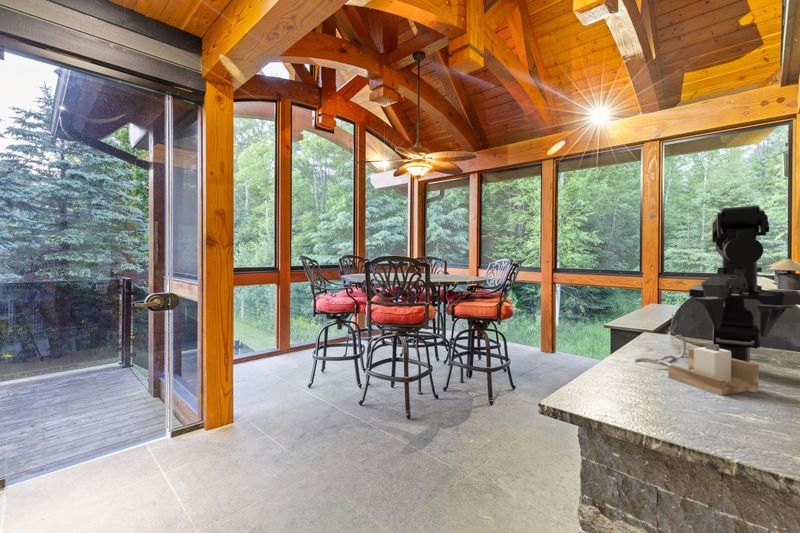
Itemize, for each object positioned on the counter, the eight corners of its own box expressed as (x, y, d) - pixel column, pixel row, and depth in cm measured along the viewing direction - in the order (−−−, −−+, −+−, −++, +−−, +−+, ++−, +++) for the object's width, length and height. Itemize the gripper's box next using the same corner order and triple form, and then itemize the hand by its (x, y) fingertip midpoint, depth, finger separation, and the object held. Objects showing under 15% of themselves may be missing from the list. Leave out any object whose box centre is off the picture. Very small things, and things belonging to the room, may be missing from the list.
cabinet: (710, 375, 89) (710, 341, 88) (731, 381, 84) (731, 345, 84) (694, 377, 87) (693, 343, 87) (714, 384, 83) (714, 347, 83)
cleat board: (693, 372, 95) (693, 348, 94) (758, 391, 81) (758, 364, 81) (664, 376, 92) (664, 352, 92) (726, 396, 79) (726, 368, 79)
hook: (705, 359, 105) (665, 382, 96) (668, 352, 114) (628, 372, 105) (703, 334, 104) (662, 355, 96) (666, 328, 113) (626, 347, 104)
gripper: (671, 263, 90) (671, 327, 91) (762, 265, 72) (761, 345, 72) (706, 262, 93) (706, 324, 93) (803, 263, 75) (802, 340, 75)
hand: (739, 332), depth 83 cm, fingers open, 9 cm apart
